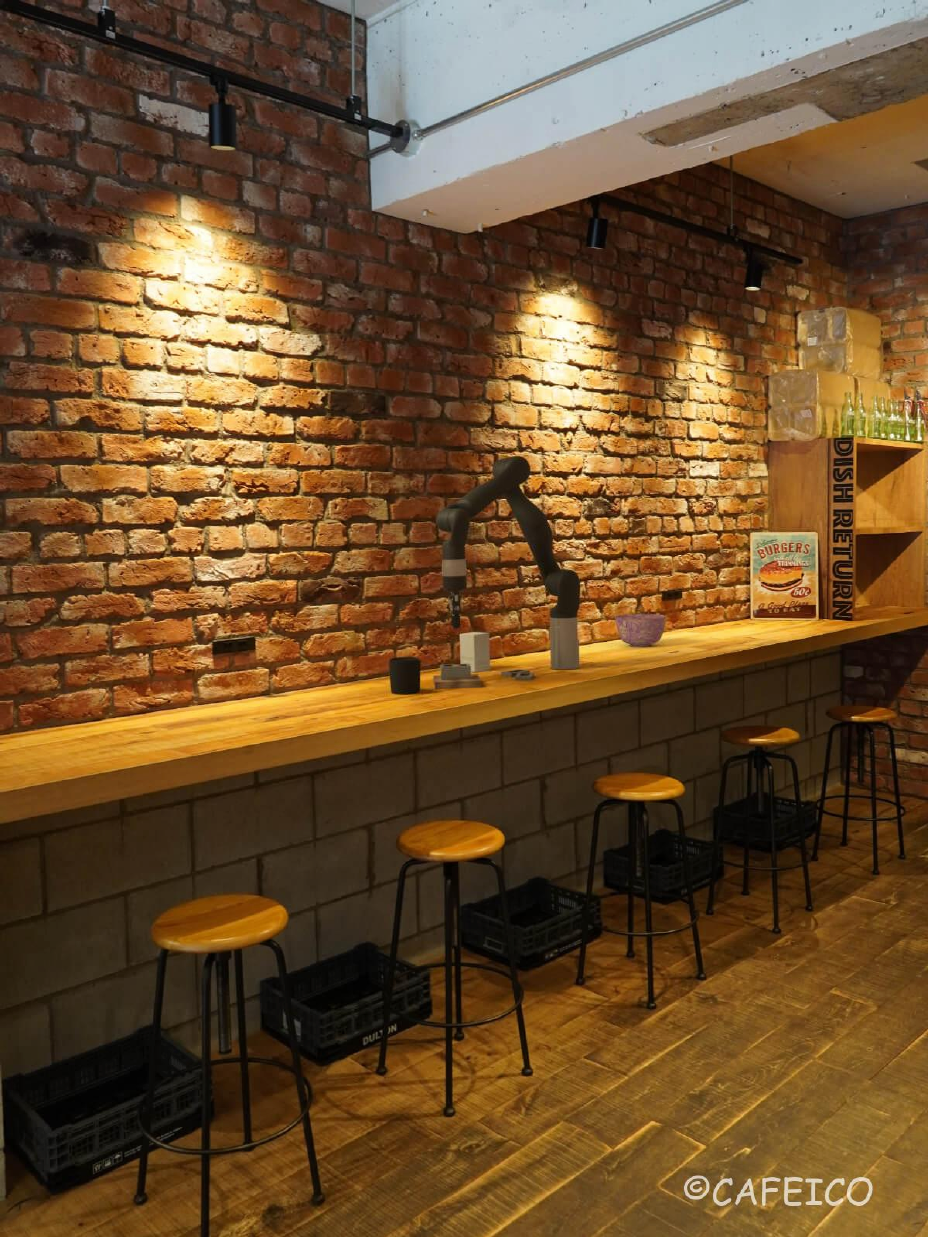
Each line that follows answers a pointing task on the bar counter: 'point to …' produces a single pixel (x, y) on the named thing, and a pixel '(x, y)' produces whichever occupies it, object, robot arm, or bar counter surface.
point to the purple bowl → (640, 629)
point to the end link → (455, 671)
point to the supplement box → (475, 650)
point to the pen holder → (404, 675)
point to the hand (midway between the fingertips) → (455, 627)
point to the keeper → (457, 682)
